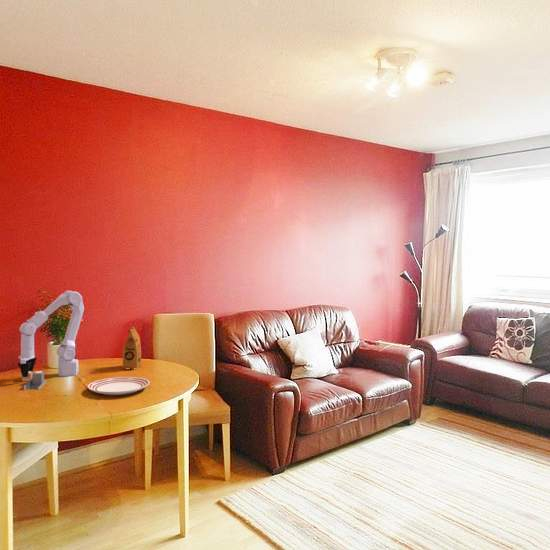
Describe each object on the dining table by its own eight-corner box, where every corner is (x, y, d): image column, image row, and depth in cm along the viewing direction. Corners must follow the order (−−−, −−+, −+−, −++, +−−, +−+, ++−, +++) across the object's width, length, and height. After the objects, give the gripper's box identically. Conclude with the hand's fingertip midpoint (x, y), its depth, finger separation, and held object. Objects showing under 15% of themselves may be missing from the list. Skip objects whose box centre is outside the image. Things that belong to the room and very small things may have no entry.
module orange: (33, 381, 231) (33, 370, 231) (30, 383, 227) (30, 372, 227) (24, 381, 230) (24, 371, 230) (21, 384, 226) (21, 373, 226)
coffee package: (119, 370, 257) (119, 330, 256) (125, 364, 269) (126, 326, 268) (137, 370, 257) (138, 330, 256) (143, 364, 269) (143, 326, 268)
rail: (46, 384, 226) (46, 377, 226) (39, 391, 215) (39, 384, 215) (31, 384, 225) (31, 378, 225) (24, 392, 213) (24, 385, 213)
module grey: (43, 381, 227) (43, 370, 226) (41, 384, 223) (41, 373, 222) (34, 382, 226) (34, 371, 226) (32, 384, 222) (32, 373, 222)
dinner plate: (88, 384, 228) (88, 377, 228) (146, 380, 238) (146, 373, 238) (87, 401, 203) (87, 394, 203) (152, 396, 213) (152, 388, 213)
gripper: (23, 344, 234) (23, 371, 235) (13, 350, 220) (13, 379, 221) (38, 344, 236) (38, 371, 236) (29, 350, 222) (29, 378, 222)
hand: (27, 375), depth 229 cm, fingers open, 7 cm apart
